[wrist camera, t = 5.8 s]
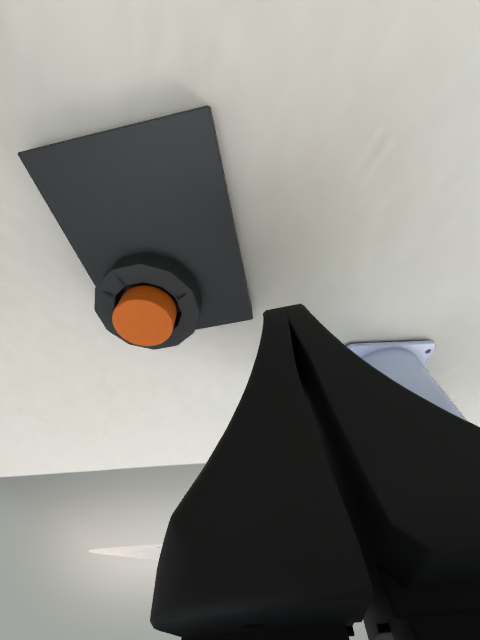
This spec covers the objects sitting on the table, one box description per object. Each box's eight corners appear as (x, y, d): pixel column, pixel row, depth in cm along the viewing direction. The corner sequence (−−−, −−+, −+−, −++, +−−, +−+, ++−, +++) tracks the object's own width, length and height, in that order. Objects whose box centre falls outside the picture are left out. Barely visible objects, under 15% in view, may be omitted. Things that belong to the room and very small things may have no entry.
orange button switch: (251, 309, 22) (255, 334, 19) (132, 331, 23) (120, 358, 20) (210, 105, 14) (207, 103, 12) (31, 150, 15) (-9, 157, 12)
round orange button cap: (184, 324, 19) (180, 341, 18) (134, 333, 19) (127, 350, 18) (165, 279, 17) (160, 294, 15) (110, 290, 17) (100, 306, 16)
